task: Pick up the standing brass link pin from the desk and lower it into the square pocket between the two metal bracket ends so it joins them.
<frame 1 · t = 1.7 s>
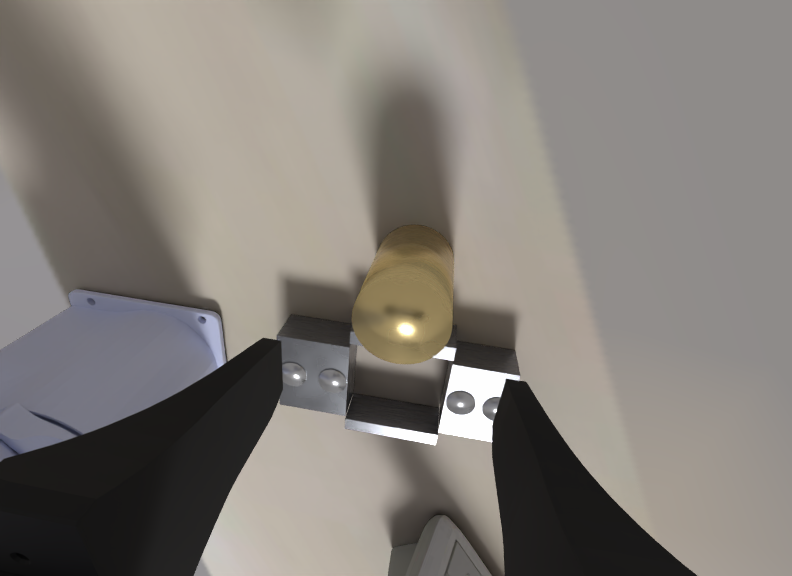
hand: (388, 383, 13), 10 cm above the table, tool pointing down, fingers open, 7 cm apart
metal bracket: (400, 366, 25), on the table
digital clock: (460, 567, 34), on the table
link pin: (415, 261, 22), on the table
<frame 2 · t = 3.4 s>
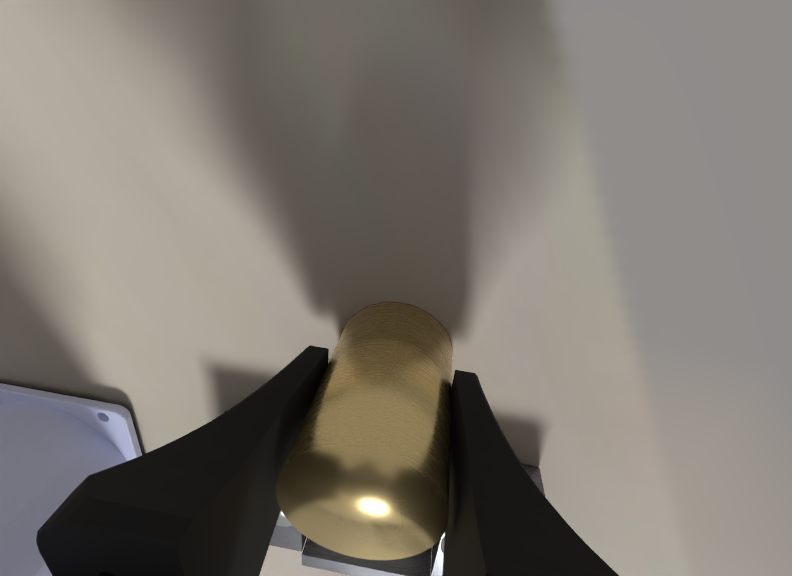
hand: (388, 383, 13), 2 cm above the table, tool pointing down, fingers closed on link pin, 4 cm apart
metal bracket: (379, 479, 18), on the table
link pin: (395, 351, 15), on the table, touching gripper
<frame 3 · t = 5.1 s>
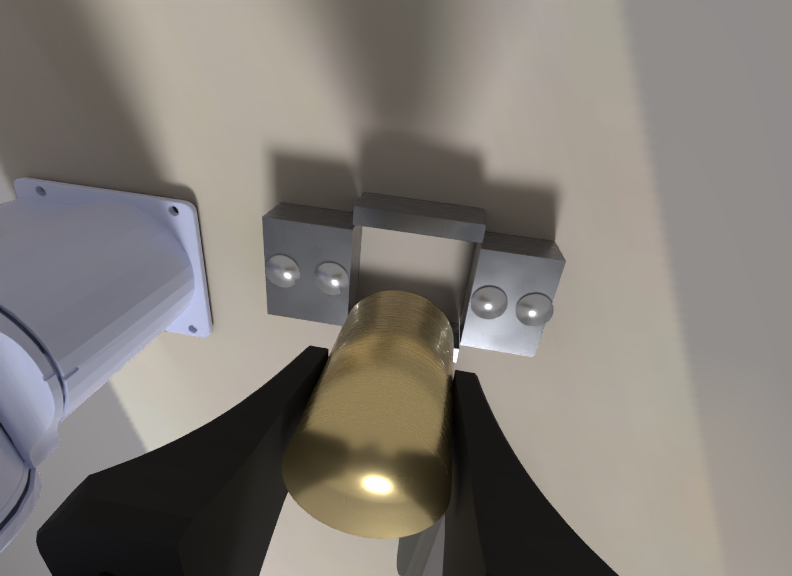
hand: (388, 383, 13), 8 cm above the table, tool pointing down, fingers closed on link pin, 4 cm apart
metal bracket: (413, 269, 21), on the table
digital clock: (481, 529, 30), on the table
link pin: (397, 339, 15), point 6 cm above the table, touching gripper
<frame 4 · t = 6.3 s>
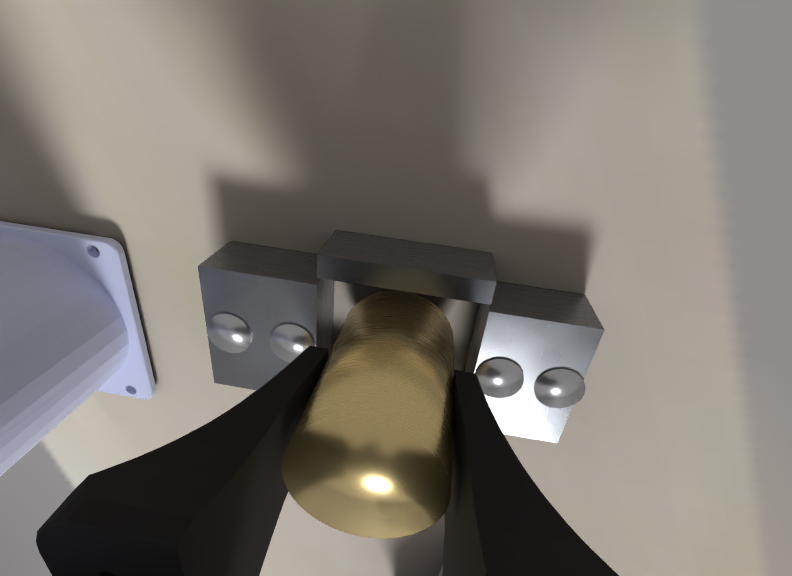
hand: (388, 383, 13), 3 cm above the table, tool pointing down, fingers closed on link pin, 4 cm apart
metal bracket: (401, 325, 16), on the table
link pin: (397, 339, 15), point 1 cm above the table, touching gripper
when the fingers open (3 cm above the table, at t = 7.0 s): link pin drops 1 cm, resting in metal bracket.
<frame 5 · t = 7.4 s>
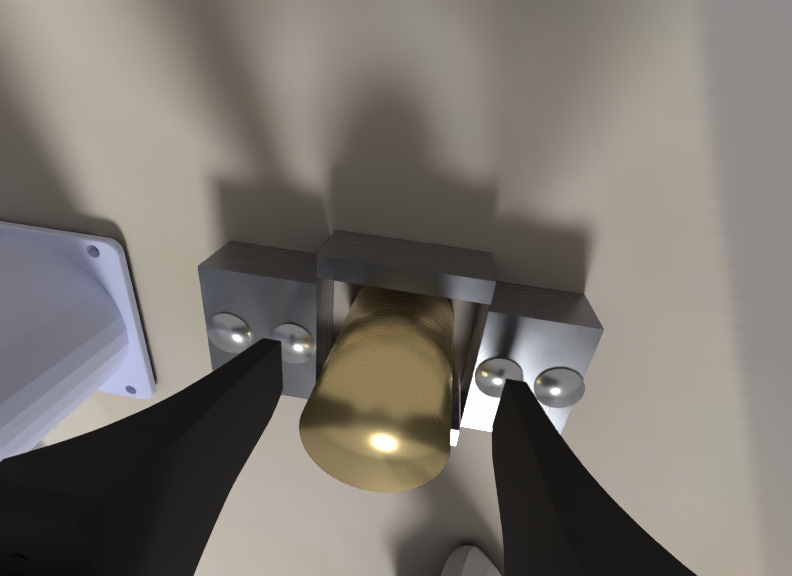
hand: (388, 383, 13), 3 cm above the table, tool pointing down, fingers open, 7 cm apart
metal bracket: (401, 325, 16), on the table
link pin: (401, 320, 16), resting in metal bracket
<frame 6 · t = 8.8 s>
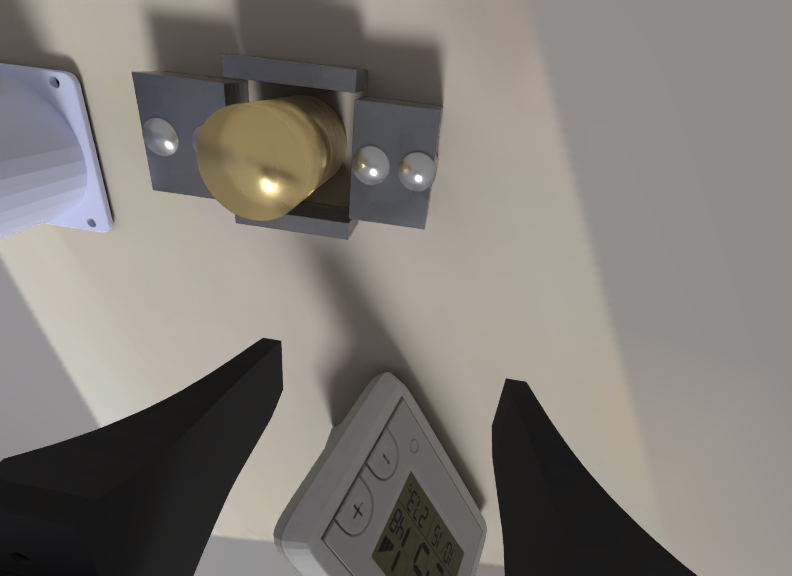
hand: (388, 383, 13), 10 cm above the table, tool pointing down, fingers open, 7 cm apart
metal bracket: (306, 146, 20), on the table
digital clock: (412, 453, 29), on the table
link pin: (305, 141, 20), resting in metal bracket
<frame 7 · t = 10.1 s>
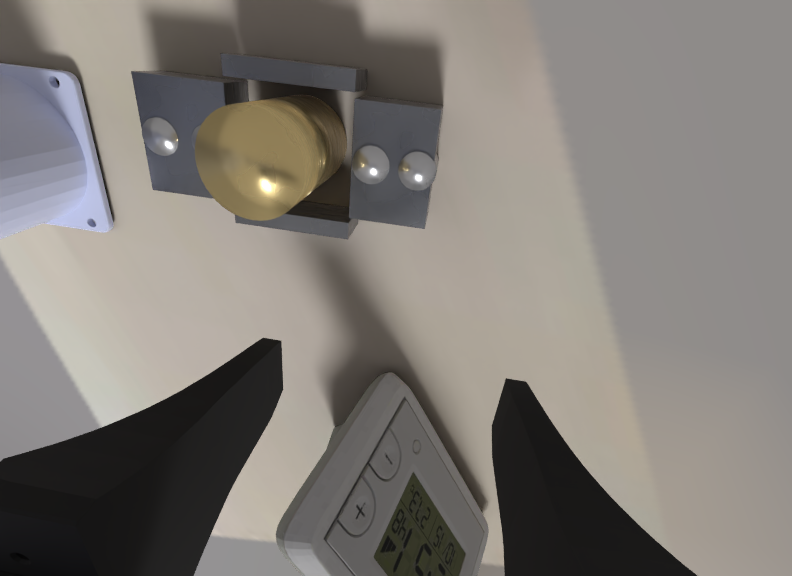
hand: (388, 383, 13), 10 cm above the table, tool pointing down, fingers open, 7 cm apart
metal bracket: (306, 145, 20), on the table
digital clock: (414, 453, 29), on the table
link pin: (305, 140, 20), resting in metal bracket
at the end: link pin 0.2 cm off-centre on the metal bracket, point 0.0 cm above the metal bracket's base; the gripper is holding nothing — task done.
